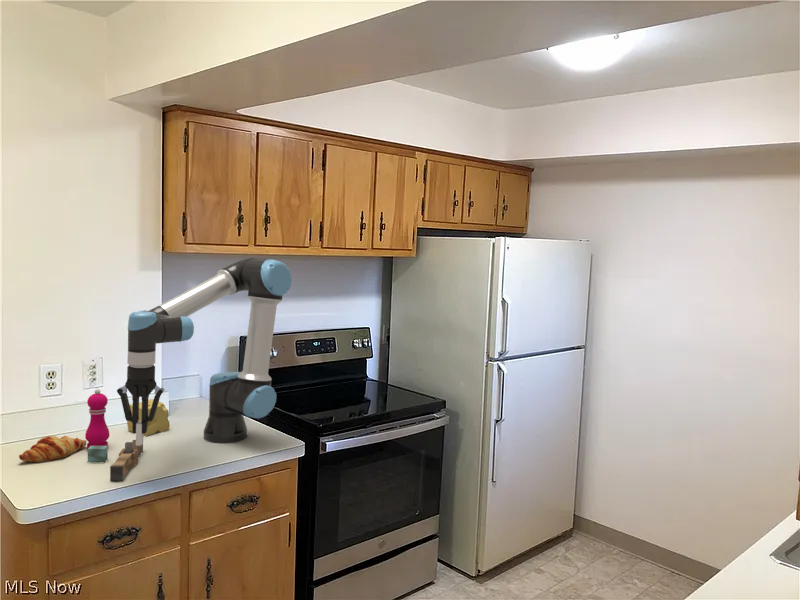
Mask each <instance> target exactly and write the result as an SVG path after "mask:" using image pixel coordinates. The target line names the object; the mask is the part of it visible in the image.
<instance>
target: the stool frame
mask: <svg viewBox="0 0 800 600" xmlns="http://www.w3.org/2000/svg"><path fill="white" fill-rule="evenodd" d="M108 447H109V445H108V446H90V447H89V448H88V450H87V463H88V462H105V461H106V460H107V461H108V457H109V456H108V449H109V448H108ZM124 448H125V454H131V453H132V448H139V452H138V457H139V458H140V456H141V455H142V454H143V453H144V443H143V444H142V445H136V439H133V440H132V441H127V442H125V443H124ZM141 453H142V454H141ZM107 461H106V462H107ZM106 462H105V463H106Z"/></svg>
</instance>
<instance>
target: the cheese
mask: <svg viewBox="0 0 800 600" xmlns="http://www.w3.org/2000/svg"><path fill="white" fill-rule="evenodd" d="M153 400H154V398H150V399H148V416H149V414H150V411H151V407H152V404H153ZM129 405H130V409H131V413H132V410H133V403H131V404H130V403H129ZM169 417H170V413H169V410H168V408H167V406H166V405H165V404H164V403H163V402H161V401H159V402H158V406H157V409H156V413H155V416H154V419H153V420H152V421H149V422H147V432H146V433H145V434H144V435H143V437H148V436H151V435H155V434H156V433H163V432H167V431H169V430H170V427H171V426H170V425H171V424H170V420H169ZM138 421H142V401H139V420H138ZM126 424H127V430H128V432H130V433H133V432H132V429H133V423H132V422H131V421H127V420H126Z"/></svg>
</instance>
